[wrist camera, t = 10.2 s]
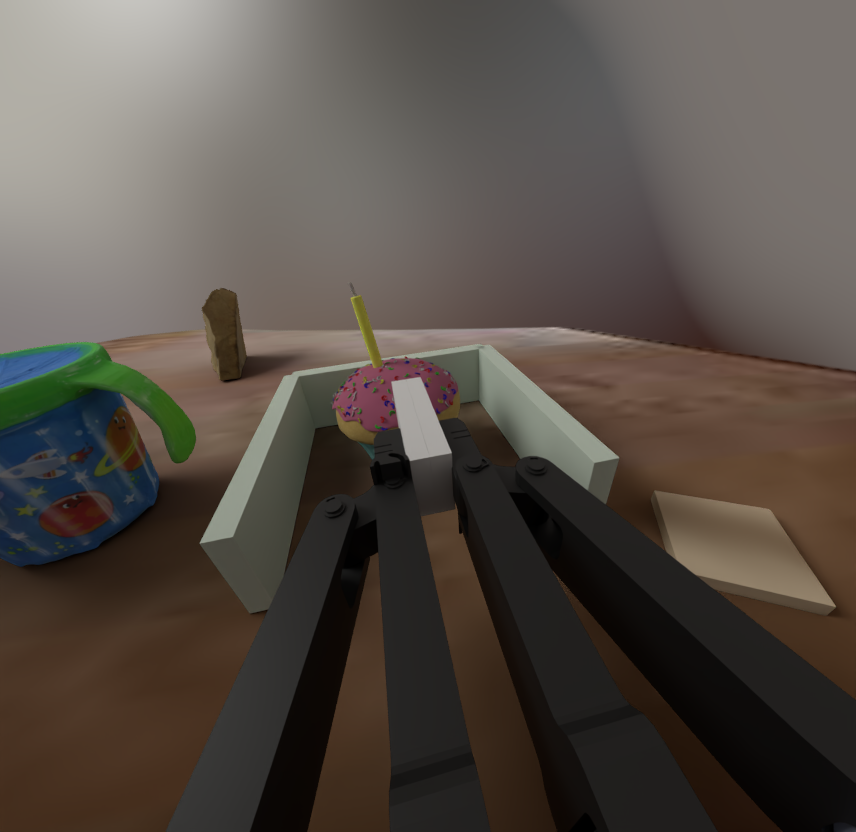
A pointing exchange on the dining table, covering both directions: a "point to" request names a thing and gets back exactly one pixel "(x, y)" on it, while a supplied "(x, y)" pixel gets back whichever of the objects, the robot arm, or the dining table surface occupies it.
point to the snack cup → (76, 450)
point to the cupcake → (386, 389)
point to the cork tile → (738, 551)
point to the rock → (224, 333)
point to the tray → (312, 408)
